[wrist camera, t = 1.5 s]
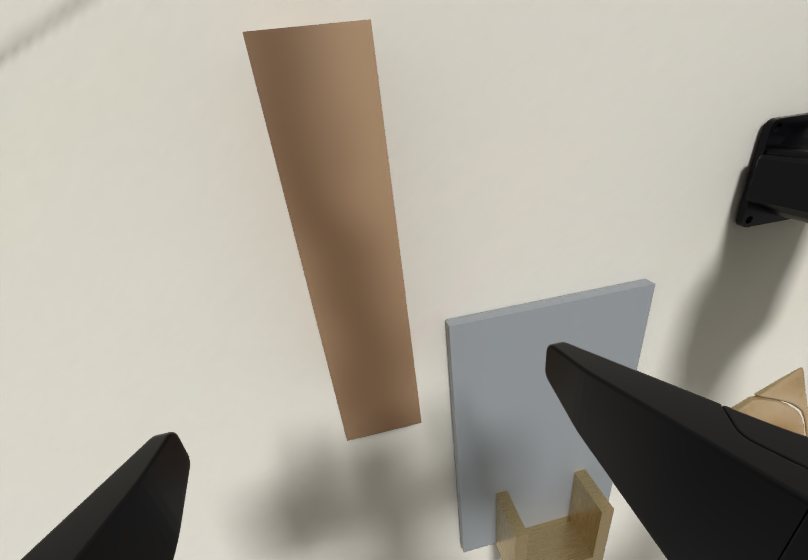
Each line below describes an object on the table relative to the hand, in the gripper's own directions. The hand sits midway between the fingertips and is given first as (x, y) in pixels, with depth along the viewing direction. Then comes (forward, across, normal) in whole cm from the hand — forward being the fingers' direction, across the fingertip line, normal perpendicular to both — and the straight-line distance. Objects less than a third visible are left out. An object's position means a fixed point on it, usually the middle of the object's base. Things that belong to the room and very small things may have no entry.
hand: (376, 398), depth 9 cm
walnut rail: (+12, 0, 0) cm, 12 cm away
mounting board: (+12, -12, +18) cm, 25 cm away
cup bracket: (+11, -12, +27) cm, 32 cm away
